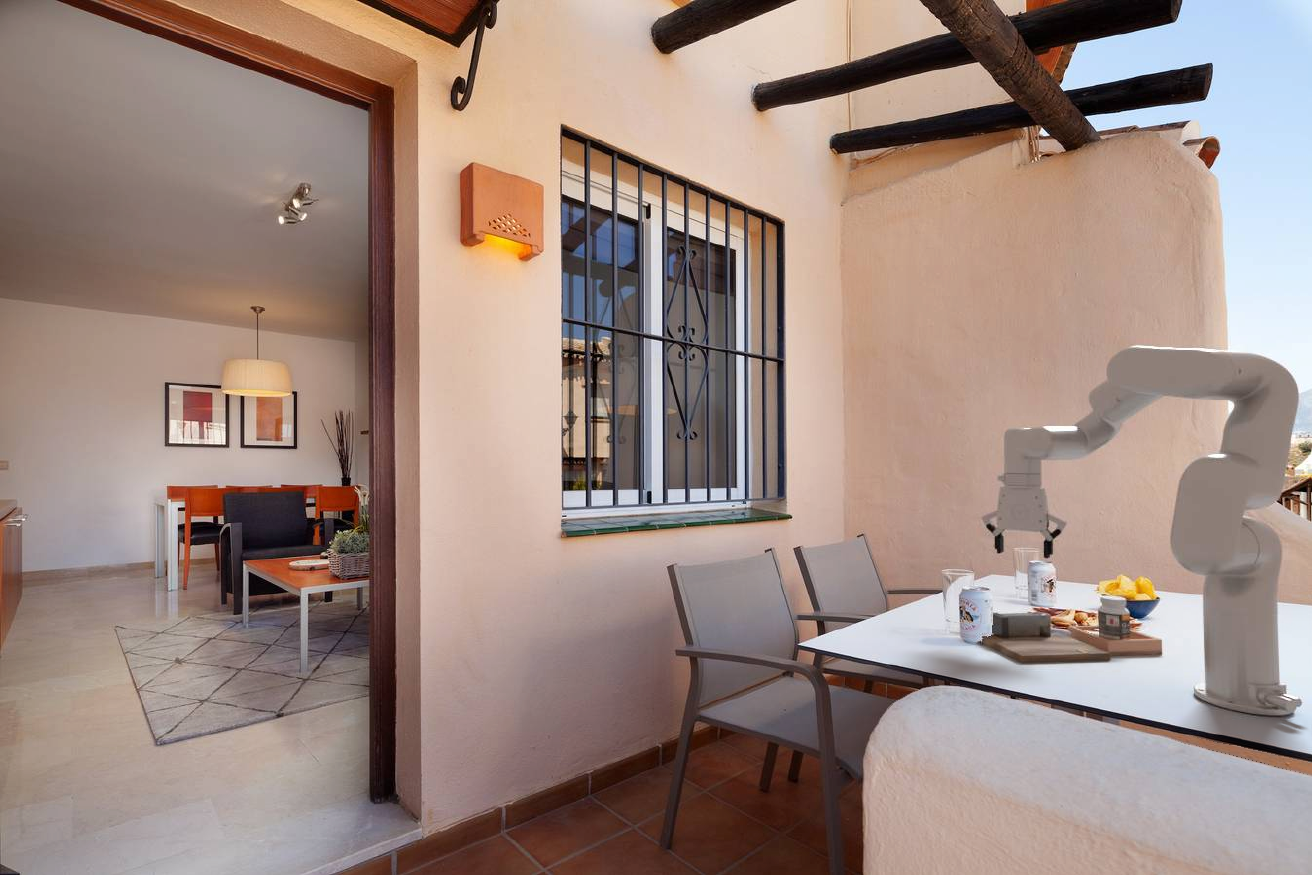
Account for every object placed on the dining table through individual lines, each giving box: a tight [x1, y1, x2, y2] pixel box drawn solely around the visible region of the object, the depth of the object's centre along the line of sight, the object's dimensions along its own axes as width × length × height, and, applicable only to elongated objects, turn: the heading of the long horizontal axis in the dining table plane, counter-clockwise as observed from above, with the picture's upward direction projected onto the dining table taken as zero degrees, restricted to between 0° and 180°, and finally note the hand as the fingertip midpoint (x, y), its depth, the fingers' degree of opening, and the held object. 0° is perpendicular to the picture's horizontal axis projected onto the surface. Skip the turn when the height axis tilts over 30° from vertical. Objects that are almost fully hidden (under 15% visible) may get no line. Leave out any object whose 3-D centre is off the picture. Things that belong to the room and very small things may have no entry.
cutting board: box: [981, 632, 1111, 664], centre depth 140 cm, size 16×19×2 cm
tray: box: [1067, 624, 1163, 657], centre depth 143 cm, size 12×12×3 cm
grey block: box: [991, 611, 1052, 638], centre depth 147 cm, size 13×4×4 cm, turn 94°
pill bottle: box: [1097, 594, 1131, 640], centre depth 143 cm, size 6×6×10 cm
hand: (1023, 555), depth 150 cm, fingers open, 9 cm apart
